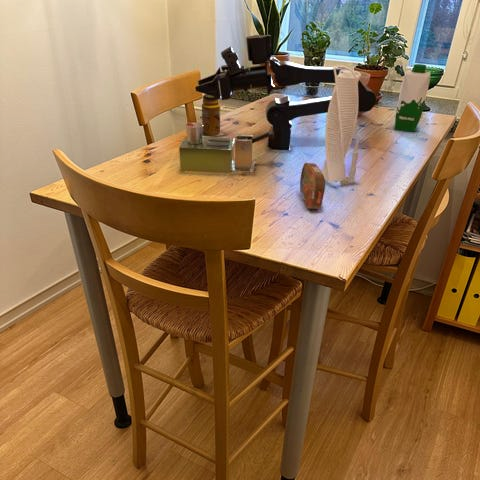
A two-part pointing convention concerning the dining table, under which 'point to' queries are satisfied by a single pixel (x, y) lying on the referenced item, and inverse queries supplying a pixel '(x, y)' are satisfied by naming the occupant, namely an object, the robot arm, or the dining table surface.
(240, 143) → the lever bracket
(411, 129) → the milk carton
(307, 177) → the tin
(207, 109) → the condiment
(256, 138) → the toaster lever
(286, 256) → the dining table surface
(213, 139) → the toaster slots
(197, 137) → the translucent cup
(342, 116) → the skyscraper
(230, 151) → the toaster
